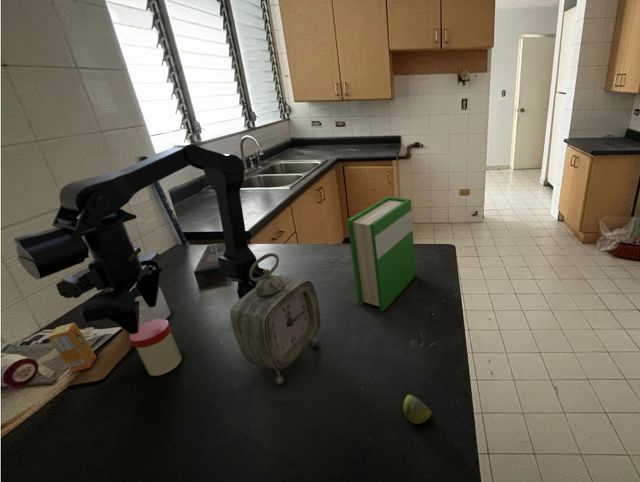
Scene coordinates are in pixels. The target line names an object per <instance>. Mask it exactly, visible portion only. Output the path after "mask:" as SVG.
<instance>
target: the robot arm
mask: <svg viewBox="0 0 640 482" xmlns="http://www.w3.org/2000/svg"><path fill="white" fill-rule="evenodd" d="M189 166H190V167H193V168H195V169H198V170H200V171H203V172H204V175H205V178H206V181H207V182H208V184H209V185H210V187H211V188H212V190H213V191H214V192H215V194H216V200H217V206H218V212H219V217H220V223H221V228H222V235H223V240H224V243H225V247H226V250H225V252H224V254H223V256H221V257H218V262H219V266H220V269H219V272H222V274H223V276H224V277H226V278H228V279H229V280H231V282H235V283H237V287H236V293H237V296H238V301H239V300H240V299H241V298H242V297H244V296H245V295H246V294H247V293H249V292H250V291H251V290H252V289H254V288H255V287H256V284H257V283H258V282H259V281H257V282H256V281H252V280H251V279H250V275H249V274H250V269H251V267H252V265H253V264H254V262H256V261H257V260H258V259H257V256H256V255H255V253H254V252H253V251H252V249H251V248H250V247H249V243H248V238H247V230H246V225H245V218H244V212H243V206H242V205H243V204H242V198H241V189H242V187H243V184H244V181H245V164H244V161H243V160H242V159H241V158H240V156H238V155H236V154H229V153H227V154H226V153H221V152H217V151H214V150H210V149H207V148H205V147H201V146H199V145H197V144H194V143H183V142H181V143H177V144H175V145H174V146H172V147H171V148H167V149H166V150H164V151H161V152H159V153H157V154H154V155H153V156H150V157H147V158H145V159H143V160H141V161H139V162H137V163H134V164H132V165H130V166H127V167H125V168H123V169H121V170H118V171H115V172H112V173H107V174H101V175H97V176H92V177H87V178H83V179H80V180H76V181H72V182H69V183H68V184H66V185H64V186H63V187H62V188H61V189H60V193H59V196H58V197H59V203H60V205H59V207H58V210H57V212H56V214H55V217H54V219H53V221H52V224H51V226H52V228H49V229H46V230H42V231H39V232H36V233H31V234H25V235H22V236H21V235H20V236H18V237H15V238H14V239H13V241H14V243H15V245H16V247H15V249H16V253H17V256H16V258H17V260H18V261H19V263H20V265H21V266H22V268H24V270H25V271H26V272H27V273H28V274H29V276H31V277H32V278H33V279H36V280H41V279H43V278H46V277H49V276H51V275H54V274H56V273H59V272H61V271H64V270H67V269H69V268H72V267H75V266H78V265H80V264H83V263H84V262H85V260H86V259H88V258H89V253H90V254H91V257H92V259H93V260H91V261H90V262H89V263H88V266H87V267H85V268H83V269H81V270H79V271H76V272H75V273H73V274H72V275H68V276H67V277H66V278H62V279H60V280H59V281H58V282H57V283H56V284H55V287H56V290H57V291H58V295H59V296H61V297H62V298H65V299H72V298H73V299H78V298H79V297H80V298H81V296H82V295H83V294H86V293H88V292H89V291H92V290H93V289H96V291H103V290H106V289H107V288H109V289H110V288H111V289H113V291H112V292H111V291H107V292H102V293H97V294H93V296H92V297H91V298H90V299H89V300H88V301H87V302H86V303H85V304H84V305H83V306H82V308H80V310H79V314H80V316H81V318H82V320H83V321H84V322H85V323H90V322H95V321H100V320H105V319H108V320H111V322H114V323H115V324H117V325H118V326H119V327H121V328H122V329H124V330H125V331H126V332H128V333H129V335H130V334H136V333H138V332H139V301H135V295H134V293H133V292H131V290H132V289H133V288H134V287H135V286H136V287H137V289H138V291H139V292H140V294H141V296H142V297H143V299H144V301H145V302H146V304H147V305H148V306H149V307H150V308H151V307H155V306H156V303H157V297H158V291H159V286H160V285H161V280H162V276H163V272H164V266H165V265H166V260H165V257H164V255H162V254H160V253H159V252H152V253H147V254H140V253H141V252H142V249H141V247H140V246H134V243H133V241H132V240H131V239H132V238H131V235H130V233H129V232H128V228H126V227H127V226H126V225H125V223H126V222H129V221H132V220H135V219H137V218H138V216H137V215H136V214H133V213H130V212H128V211H127V210H125V209H123V207H124V206H125V205H127V204H128V203H129V202H130V201H131V200H132V198H133V197H134V196H135V195H136V194H137V193H139V192H140V191H142V190H144V189H146V188H147V187H150V186H151V185H154V184H155V183H157V182H159V181H161V180H163V179H165V178H167V177H169V176H171V175H173V174H175V173H177V172H179V171H181V170H183V169H185V168H187V167H189ZM78 217H79V218H78ZM139 254H140V255H139ZM265 269H266V268H263V267H260V266H259V264H258V265H257V266H256V267H255V269H254V271H253V274H252V277H253V278H259V277H261V276H263V275H264V274H263V271H264V270H265Z"/></svg>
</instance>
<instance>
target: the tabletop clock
mask: <svg viewBox="0 0 640 482" xmlns="http://www.w3.org/2000/svg"><path fill="white" fill-rule="evenodd" d="M269 257H274V258H275V264H274V265H273V267H272V268H271V269H270V270H269V269H268V268H264V269H265V270H264V271H263V274H264V275H263V276H261V277H259V278H253V277H252V274H253V271H254V269H255V267H256V266H257V265H259V264H260V263H261V262H262V261H264V260H266V259H268V258H269ZM279 262H280V258H279V256H278V254H276V253H273V252H270V253H269V252H268V253H266V254H263V255H262V256H260V257H259V258H258V259H257V261H256V262H254V264H253V265H252V267H251V269H250V274H249V275H250V279H251V280H252V281H256V282H257V281H259V282H258V283H257V284H256V287H255V288H254V289H252V290H251V291H250V292H249V293H247V294H246V295H245V296H244V297H242V298H241V299H240V300H239V299H238V300H237V301H236V302H235V303H234V304H233V306H232V307H231V308H230V322H231V326H232V330H233V335H234V338H235V339H236V342H237V344H238V347H239V349H240V351H241V354H242V355H243V357H244V358H245V360H247V361H248V362H249V363H252V364H255V365H258V366H261V367H263V368H267V369H269V370H270V369H271V370H274V371H275V373H276V377H275V378H274V382H275V384H276V385H281V384H283V383H284V380H285V378H284V376H283V375H281V372H282V371H284V370H286V369H287V368H288V367H290V366H291V364H293V362H294V361H295V360H297V358H299V357H300V356H301V354H302V353H303V352H304V351H305V350H306V349H307V347H308V346H309V345H310V346H316V345H317V343H318V339H317V338H316V336H317V334H318V333H319V331H320V327H321V313H320V306H319V300H318V296H317V293H316V290H315V287H314V285H313V283H312V282H311V280H309V279H304V278H300V277H293V276H289V275H283V274H279V275H275V274H273V273H274V272H275V271H276V270H277V268H278V266H279Z"/></svg>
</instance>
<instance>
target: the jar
mask: <svg viewBox="0 0 640 482" xmlns="http://www.w3.org/2000/svg"><path fill="white" fill-rule="evenodd" d="M109 290H110V292H112V291H113V289H111V288H110V287H109ZM131 292H133V293H134V295H135V301H139V326H141V325H142V324H144V323H147V322H149V321H152V320H157V319H165V320H168V318H169V317H170V316H171V311H170V307H169V306H168V303H167V301H166V298H165V297H164V293H163V291H162V289H161V287H160V286H159V291H158V297H157V303H156V306H155V307H151V308H150V307H149V306H148V305H147V304H146V302H145V301H144V299H143V297H142V296H141V294H140V292H139V291H138V289H137V287H136V286H135V287H134V288H133V289H132V290H131Z"/></svg>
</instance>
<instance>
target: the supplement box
mask: <svg viewBox="0 0 640 482" xmlns="http://www.w3.org/2000/svg"><path fill="white" fill-rule="evenodd" d="M47 338H48V340H49V341H50V343H51V344H52V345H53V347H54V349H55V350H56V351H57V353H58V354H59V355H60V357H61V358H62V360H63V361H64V363H65V364H66V365H67V367H68V368H69V370H70V371H71V373H76V372H81V371H83V370H86V369H90V368H91V367H92V365H93V364H94V363H95V360H96V358H97V356H96V354H95V351H94V350H93V348H92V347H91V345H90V343H89V342H88V341H87V339H86V337H85V336H84V334H83V333H82V331H81V330H80V328H79V327H78V325H77V324H76V322H71V323H68V324H63V325H60V326H57V327H55V328H54V329H53V331H52V332H51V333H50V334H49V336H48V337H47Z"/></svg>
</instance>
